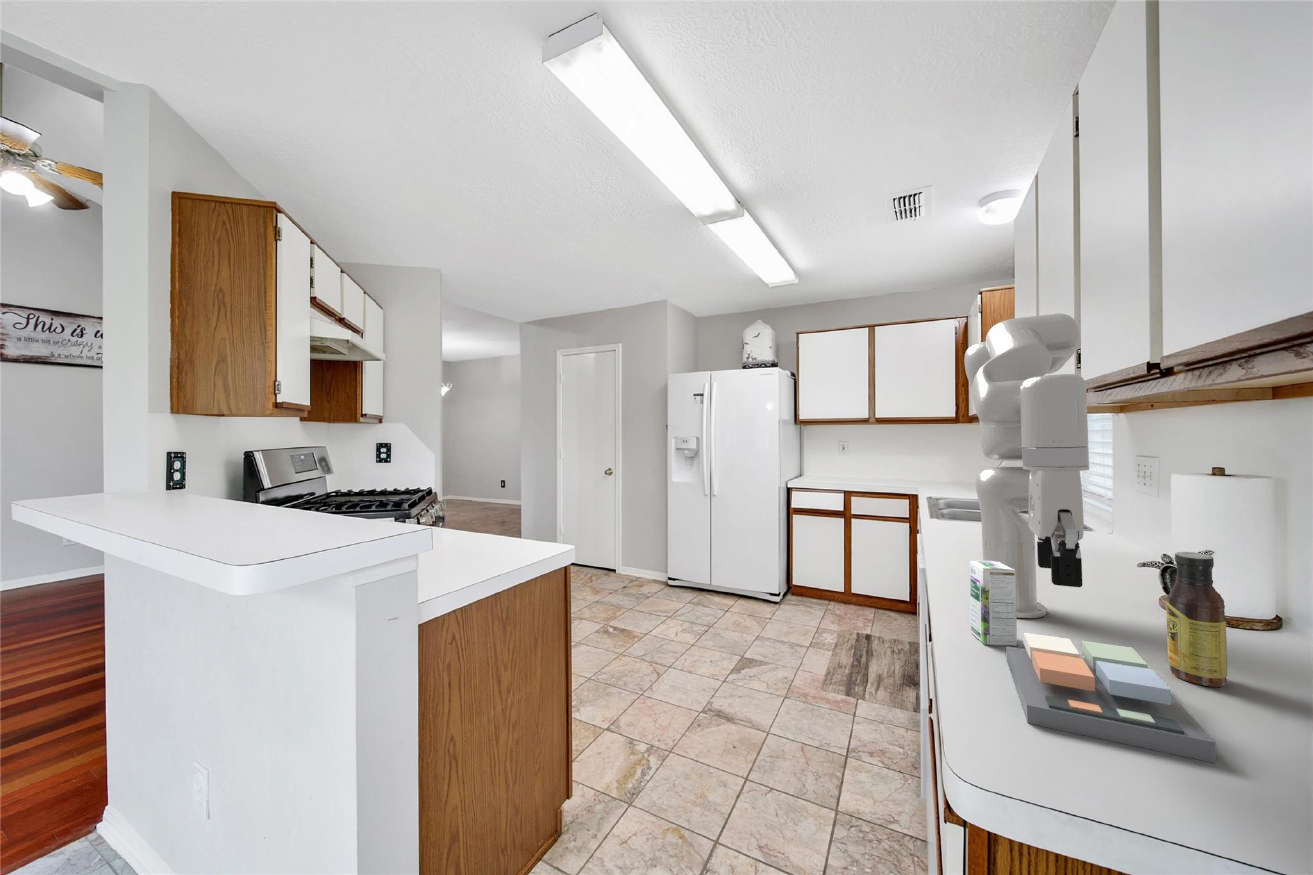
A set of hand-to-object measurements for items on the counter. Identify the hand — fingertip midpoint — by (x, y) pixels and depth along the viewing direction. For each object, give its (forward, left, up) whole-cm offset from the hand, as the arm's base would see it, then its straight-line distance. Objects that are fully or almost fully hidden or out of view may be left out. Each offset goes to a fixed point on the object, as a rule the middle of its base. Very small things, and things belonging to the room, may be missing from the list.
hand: (1058, 576), depth 70 cm
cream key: (-8, 0, -15) cm, 17 cm away
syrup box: (-21, -6, -19) cm, 29 cm away
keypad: (-2, +4, -19) cm, 19 cm away
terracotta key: (0, 0, -15) cm, 15 cm away
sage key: (-8, +7, -15) cm, 18 cm away
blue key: (0, +7, -15) cm, 17 cm away
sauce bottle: (-17, +20, -19) cm, 32 cm away
